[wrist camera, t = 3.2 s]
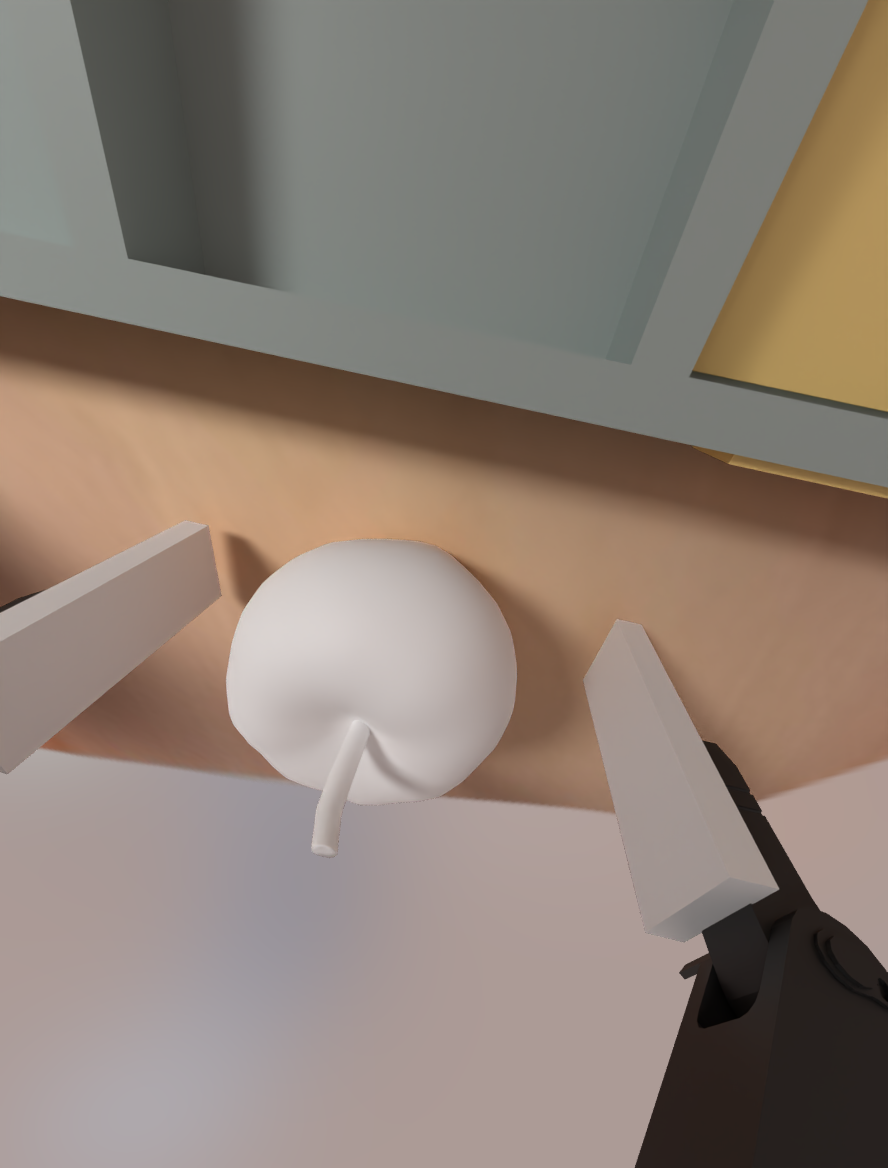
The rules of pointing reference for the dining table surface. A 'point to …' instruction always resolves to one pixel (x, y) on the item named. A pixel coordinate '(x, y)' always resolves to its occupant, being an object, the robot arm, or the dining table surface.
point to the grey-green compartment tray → (481, 201)
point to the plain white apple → (371, 675)
